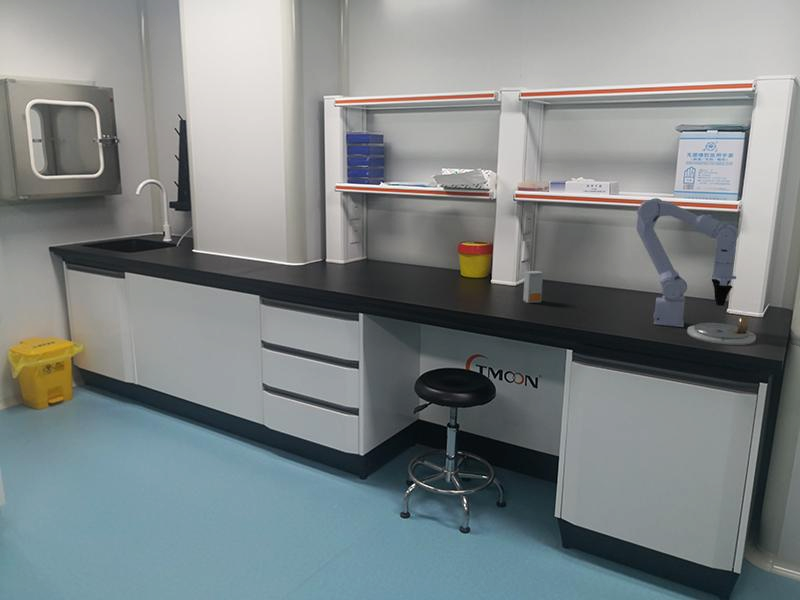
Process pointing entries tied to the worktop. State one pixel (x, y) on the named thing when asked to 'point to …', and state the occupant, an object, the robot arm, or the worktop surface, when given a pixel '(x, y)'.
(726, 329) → the dial
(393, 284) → the worktop surface
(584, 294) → the worktop surface
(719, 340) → the dial plate
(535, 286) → the skincare box
